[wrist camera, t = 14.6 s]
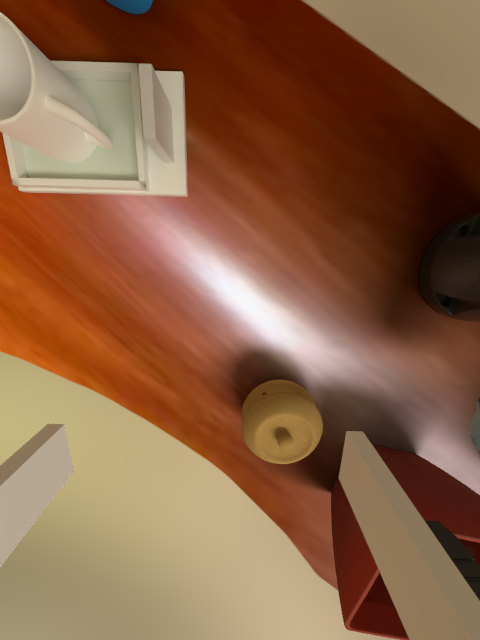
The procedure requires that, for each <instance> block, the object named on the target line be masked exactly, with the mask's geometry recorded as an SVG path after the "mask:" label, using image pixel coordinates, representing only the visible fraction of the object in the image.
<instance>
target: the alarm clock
mask: <svg viewBox="0 0 480 640" xmlns="http://www.w3.org/2000/svg"><path fill="white" fill-rule="evenodd" d="M105 1H107V2H108V3H110V4H111V5H113V6H115V7H117V8H118V9H121V10H123V11H125V12H128V13H131V14H143V13H145V12H147V11H148V10H149V9H150V7H151V5H152V2H153V0H105Z"/></svg>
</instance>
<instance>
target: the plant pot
mask: <svg viewBox="0 0 480 640" xmlns="http://www.w3.org/2000/svg"><path fill="white" fill-rule="evenodd" d="M373 447H374V448H375V450H376V451H377V453H378V454H379V456H380V457H381V459H382V460H383V461H384V463H385V464H386V466H387V467H388V469H389V470H390V472H391V473H392V474H393V476H394V477H395V479H396V480H397V482H398V483H399V485H400V486H401V488H402V489H403V490H404V492H405V493H406V495H407V496H408V498H409V499H410V501H411V502H412V503H413V505H414V506H415V508H416V509H417V511H418V512H419V514H420V515H421V517H422V518H423V519H424V520H425V521H440V522H441V523H442V524H443V525H444V526H445V527H446V528H447V529H448V530H450V531H451V532H452V533H453V534H454V535H455V536H456V537H457V538H458V539H459V540H460V541H461V543H462V544H463V545H464V547H465V548H466V549H467V550H468V552H469V553H470V554H471V556H472V557H473V558H474V561H475V563H478V565H479V566H480V495H478V494H477V493H476V492H474V491H473V490H471V489H470V488H469V487H467V486H466V485H464V484H463V483H461V482H460V481H458V480H457V479H455V478H454V477H452V476H451V475H449V474H448V473H446V472H445V471H443V470H442V469H440V468H438V467H437V466H435V465H434V464H432V463H430V462H429V461H427V460H425V459H424V458H422V457H420V456H418V455H416V454H412V453H408V452H404V451H399V450H395V449H390V448H386V447H381V446H377V445H373ZM331 516H332V536H333V549H334V559H335V568H336V576H337V583H338V591H339V597H340V604H341V609H342V615H343V620H344V625H345V627H346V629H348V630H351V631H356V632H361V633H366V634H372V635H377V636H383V637H388V638H395V639H400V640H409V638H408V635H407V633H406V631H405V628H404V626H403V624H402V622H401V619H400V617H399V615H398V612H397V610H396V608H395V606H394V603H393V601H392V599H391V596H390V594H389V592H388V590H387V587H386V585H385V583H384V580H383V578H382V576H381V574H380V571H379V569H378V567H377V564H376V562H375V560H374V558H373V555H372V553H371V551H370V548H369V546H368V544H367V542H366V539H365V537H364V535H363V532H362V530H361V528H360V526H359V523H358V521H357V519H356V517H355V514H354V512H353V510H352V507H351V505H350V503H349V501H348V498H347V496H346V494H345V491H344V489H343V487H342V485H341V482H340V480H339V475H338V477H337V479H336V482H335V484H334V486H333V488H332V491H331Z"/></svg>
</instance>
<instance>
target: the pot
mask: <svg viewBox="0 0 480 640" xmlns="http://www.w3.org/2000/svg"><path fill="white" fill-rule="evenodd" d="M241 414H242V434H243V437H244V441H245V443H246V444H247V446H248V448H249V449H250V450H251V451H252V452H253V453H254V454H255V455H257V456H258V457H260V458H261V459H263V460H265V461H268V462H271V463H276V464H289V463H294V462H297V461H299V460H302V459H303V458H305V457H306V456H308V455H309V454H310V453H311V452H312V451H313V450H314V449H315V448H316V446H317V444H318V443H319V441H320V438H321V435H322V431H323V422H322V417H321V414H320V412H319V410H318V408H317V407H316V404H315V402H314V400H313V398H312V396H311V395H310V393H309V392H308V391H307V390H306V389H304V388H303V387H302V386H300V385H299V384H296V383H294V382H292V381H287V380H271V381H267V382H264V383H262V384H260V385H259V386H257V387H256V388H255V389H253V390H252V391H251V393H250V394H249V395H248V396H247V398H246V400H245V402H244V404H243V407H242V411H241Z"/></svg>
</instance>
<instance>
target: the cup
mask: <svg viewBox="0 0 480 640" xmlns="http://www.w3.org/2000/svg"><path fill="white" fill-rule="evenodd" d="M0 132H2V133H4V134H6V135H8V136H10V137H12V138H14V139H16V140H18V141H20V142H22V143H24V144H25V145H27V146H29V147H31V148H33V149H35V150H37V151H39V152H41V153H43V154H45V155H47V156H49V157H51V158H53V159H56V160H58V161H61V162H65V163H77V162H81V161H83V160H85V159H87V158H88V157H89V156H90V155H91V154H92V153H93V151H94V150H95V148H96V146H100V147H102V148H105V149H111V148H112V146H113V142H112V140H111V139H110V137H109V136H108V135H107V134H106V133H104V132H103V131H102V130H101V129H100V128H99V126H98V121H97V117H96V114H95V112H94V110H93V108H92V106H91V104H90V103H89V101H88V100H87V99H86V97H85V96H84V95H83V94H82V93H81V92H80V91H79V90H78V89H77V88H76V87H75V86H74V85H73V84H72V83H71V82H70V81H69V79H68V78H67V77H66V76H65V75H64V74H63V73H62V72H61V71H60V70H59V69H58V68H57V67H56V66H55V65H54V64H53V63H52V62H51V61H50V60H49V59H48V58H47V57H46V56H45V55H44V54H43V53H42V52H41V51H40V50H39V49H38V48H37V47H36V46H35V45H34V44H33V43H32V42H31V41H30V40H29V39H28V38H27V37H26V36H25V35H24V34H23V33H22V32H21V31H20V30H19V29H18V28H17V27H16V26H15V25H14V24H13V23H12V22H11V21H10V20H9V19H8V18H7V17H6V16H5V15H4V14H3V13H1V12H0Z"/></svg>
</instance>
